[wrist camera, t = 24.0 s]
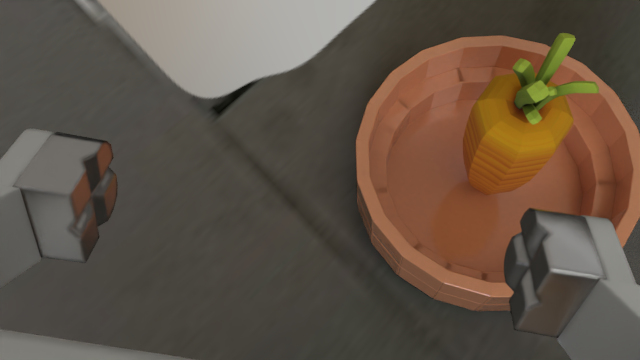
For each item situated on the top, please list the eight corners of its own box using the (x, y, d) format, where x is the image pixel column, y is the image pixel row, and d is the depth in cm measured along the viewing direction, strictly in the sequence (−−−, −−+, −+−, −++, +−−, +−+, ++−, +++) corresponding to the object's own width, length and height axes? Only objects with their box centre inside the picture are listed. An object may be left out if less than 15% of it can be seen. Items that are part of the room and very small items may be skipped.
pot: (308, 218, 39) (301, 190, 34) (437, 43, 44) (448, -5, 38) (532, 367, 35) (561, 360, 30) (650, 156, 39) (694, 118, 34)
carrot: (490, 139, 40) (560, -5, 26) (537, 197, 38) (638, 76, 24) (430, 175, 39) (468, 47, 25) (474, 236, 37) (541, 134, 23)
